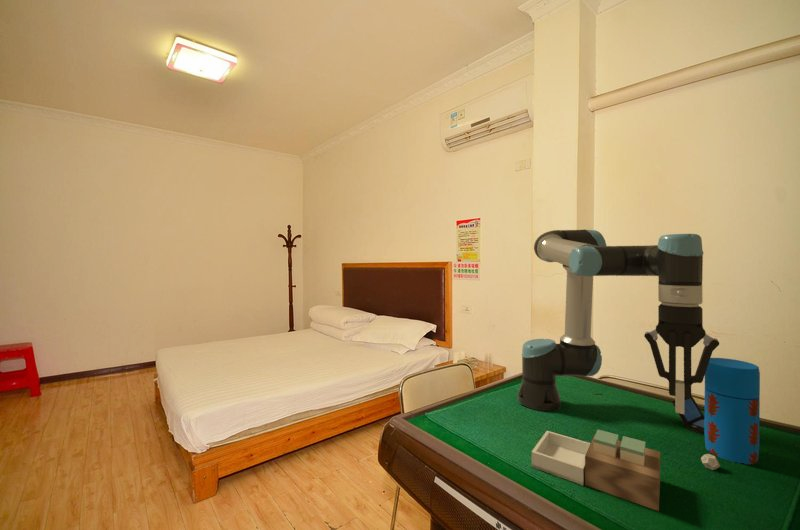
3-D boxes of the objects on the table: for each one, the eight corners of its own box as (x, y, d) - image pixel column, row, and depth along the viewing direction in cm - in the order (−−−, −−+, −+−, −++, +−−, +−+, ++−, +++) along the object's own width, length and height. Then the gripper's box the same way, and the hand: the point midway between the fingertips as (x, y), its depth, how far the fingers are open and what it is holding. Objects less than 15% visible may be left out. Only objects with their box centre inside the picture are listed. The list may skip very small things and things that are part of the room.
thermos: (694, 443, 99) (694, 358, 99) (727, 441, 100) (728, 356, 100) (733, 466, 89) (734, 370, 88) (771, 463, 90) (771, 368, 89)
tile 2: (620, 459, 80) (620, 446, 80) (623, 448, 85) (623, 435, 85) (643, 466, 77) (643, 452, 77) (645, 454, 82) (645, 441, 82)
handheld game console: (713, 438, 103) (713, 414, 103) (671, 423, 112) (671, 401, 112) (731, 429, 109) (731, 405, 108) (690, 415, 118) (690, 394, 118)
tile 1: (593, 451, 83) (593, 438, 83) (597, 440, 88) (597, 429, 88) (615, 457, 81) (615, 444, 81) (618, 446, 85) (618, 434, 85)
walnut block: (585, 485, 81) (585, 455, 81) (594, 460, 92) (594, 434, 92) (658, 511, 73) (658, 478, 73) (660, 480, 83) (660, 451, 83)
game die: (700, 461, 91) (700, 450, 91) (719, 467, 88) (719, 455, 88) (700, 468, 88) (701, 456, 88) (720, 473, 86) (720, 462, 86)
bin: (531, 467, 89) (531, 451, 89) (546, 444, 100) (546, 430, 100) (583, 485, 81) (583, 468, 81) (593, 458, 92) (593, 444, 92)
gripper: (642, 303, 76) (642, 409, 77) (722, 308, 68) (722, 426, 68) (644, 300, 82) (644, 398, 82) (718, 304, 74) (718, 413, 74)
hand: (679, 411), depth 75 cm, fingers closed
